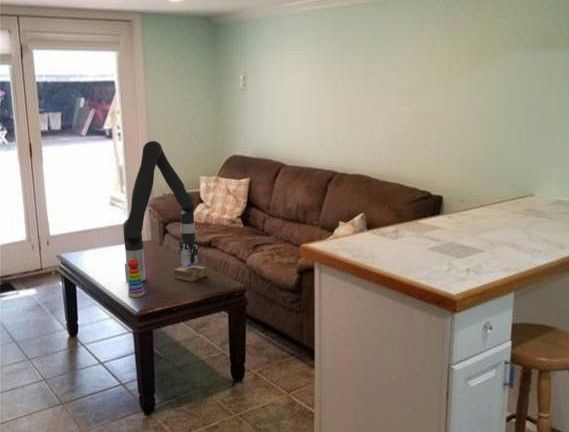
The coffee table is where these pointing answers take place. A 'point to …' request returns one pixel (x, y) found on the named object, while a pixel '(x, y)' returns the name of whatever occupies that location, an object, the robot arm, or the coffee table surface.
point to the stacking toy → (135, 279)
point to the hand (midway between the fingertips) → (189, 261)
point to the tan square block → (190, 273)
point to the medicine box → (187, 259)
